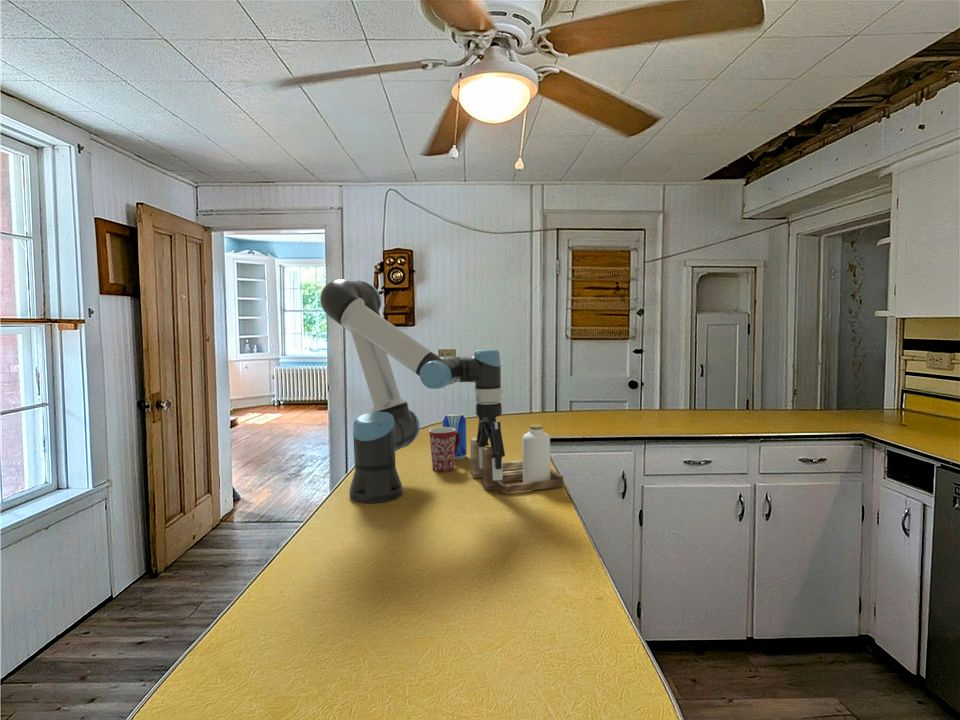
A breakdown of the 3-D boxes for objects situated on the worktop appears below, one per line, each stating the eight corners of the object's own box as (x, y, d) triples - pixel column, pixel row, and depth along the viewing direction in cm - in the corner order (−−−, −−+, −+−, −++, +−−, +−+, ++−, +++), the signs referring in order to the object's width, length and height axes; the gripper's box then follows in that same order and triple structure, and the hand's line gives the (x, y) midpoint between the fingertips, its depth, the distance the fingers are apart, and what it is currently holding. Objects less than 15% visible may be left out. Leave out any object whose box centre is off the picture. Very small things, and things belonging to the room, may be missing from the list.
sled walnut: (490, 494, 162) (489, 453, 161) (479, 483, 173) (478, 444, 172) (563, 486, 168) (562, 446, 167) (547, 475, 179) (546, 438, 178)
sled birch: (477, 481, 175) (476, 443, 174) (467, 471, 186) (466, 435, 185) (545, 474, 181) (545, 437, 180) (531, 465, 192) (531, 430, 191)
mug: (443, 474, 185) (442, 433, 184) (424, 469, 191) (423, 430, 190) (469, 466, 195) (468, 427, 194) (450, 462, 201) (449, 424, 200)
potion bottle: (541, 490, 166) (540, 429, 165) (517, 485, 171) (516, 426, 170) (555, 483, 173) (555, 424, 171) (532, 478, 178) (531, 422, 176)
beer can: (466, 460, 203) (465, 416, 202) (442, 460, 203) (441, 416, 202) (467, 454, 211) (466, 412, 210) (444, 454, 211) (443, 412, 210)
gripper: (515, 407, 155) (517, 483, 157) (488, 396, 179) (490, 462, 181) (488, 409, 153) (491, 486, 155) (465, 397, 177) (467, 464, 178)
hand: (490, 473), depth 168 cm, fingers open, 13 cm apart
